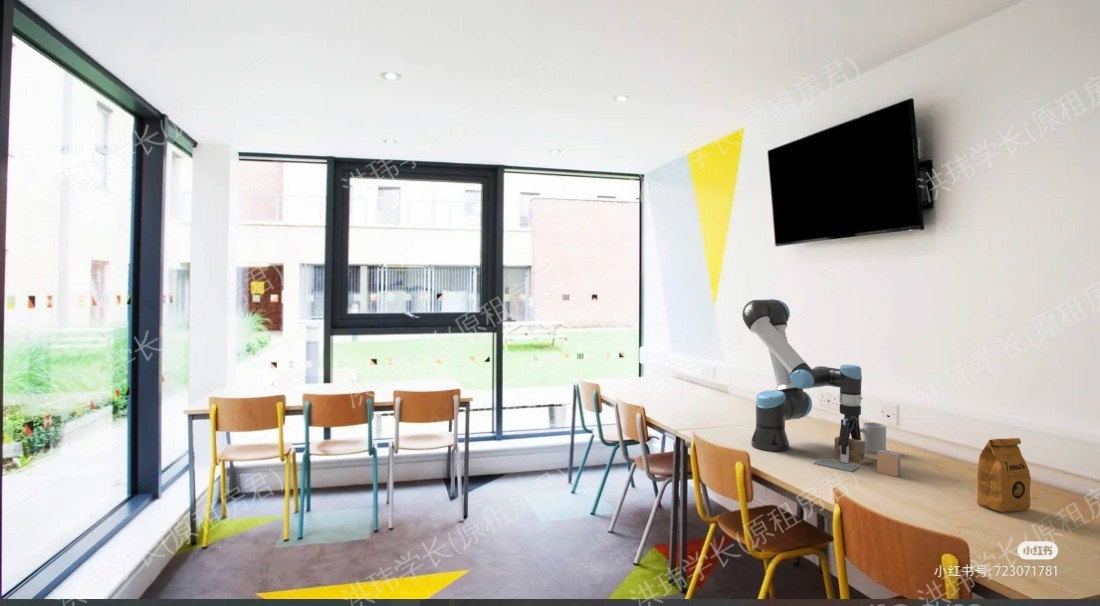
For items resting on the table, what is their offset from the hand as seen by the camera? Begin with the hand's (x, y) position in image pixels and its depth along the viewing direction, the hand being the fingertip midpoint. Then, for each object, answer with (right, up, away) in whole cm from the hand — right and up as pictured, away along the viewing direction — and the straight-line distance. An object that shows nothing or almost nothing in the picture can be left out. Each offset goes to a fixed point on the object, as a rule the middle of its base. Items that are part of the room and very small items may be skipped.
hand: (849, 459), depth 225 cm
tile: (+5, -1, -17) cm, 18 cm away
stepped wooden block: (+3, 0, -3) cm, 4 cm away
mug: (+15, 0, +12) cm, 19 cm away
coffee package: (+22, -2, -49) cm, 54 cm away
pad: (-9, 0, -8) cm, 12 cm away
